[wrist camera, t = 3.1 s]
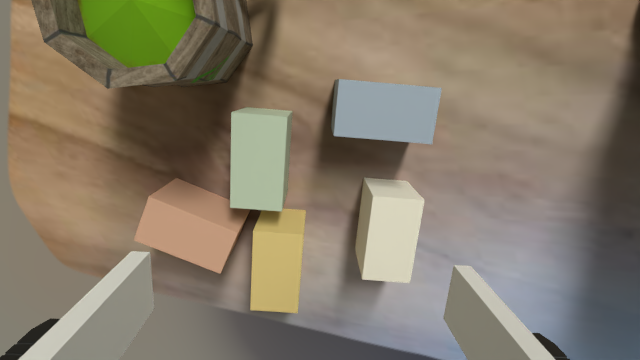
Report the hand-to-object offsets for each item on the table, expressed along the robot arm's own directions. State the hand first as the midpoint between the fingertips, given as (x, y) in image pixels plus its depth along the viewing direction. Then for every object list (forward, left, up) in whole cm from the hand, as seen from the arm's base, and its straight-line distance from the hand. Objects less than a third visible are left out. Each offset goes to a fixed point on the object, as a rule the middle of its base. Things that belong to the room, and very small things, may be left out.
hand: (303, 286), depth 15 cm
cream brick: (+4, +8, -20) cm, 22 cm away
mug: (-14, -9, -20) cm, 26 cm away
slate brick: (-7, +6, -20) cm, 22 cm away
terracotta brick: (+5, -10, -20) cm, 23 cm away
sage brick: (-2, -4, -20) cm, 21 cm away
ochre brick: (+8, -2, -20) cm, 22 cm away
